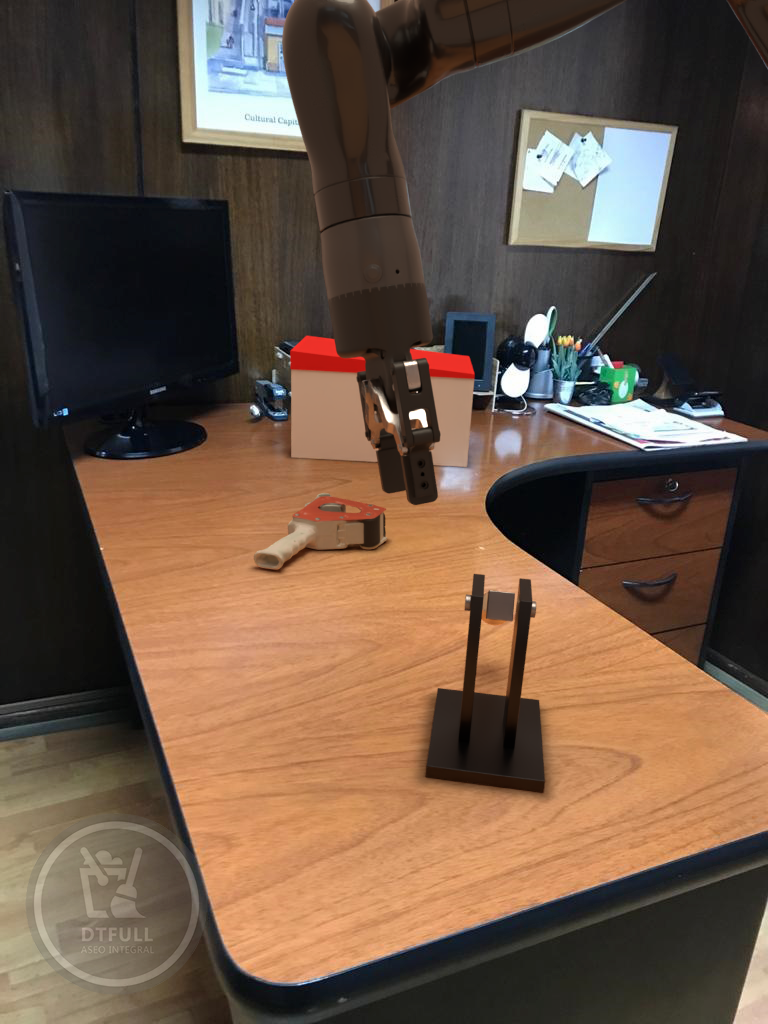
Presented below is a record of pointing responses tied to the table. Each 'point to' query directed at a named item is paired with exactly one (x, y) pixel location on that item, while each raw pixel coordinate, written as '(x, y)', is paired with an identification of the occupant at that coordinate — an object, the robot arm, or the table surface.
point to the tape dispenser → (326, 529)
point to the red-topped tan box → (338, 411)
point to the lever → (498, 607)
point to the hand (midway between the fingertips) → (408, 496)
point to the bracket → (490, 714)
